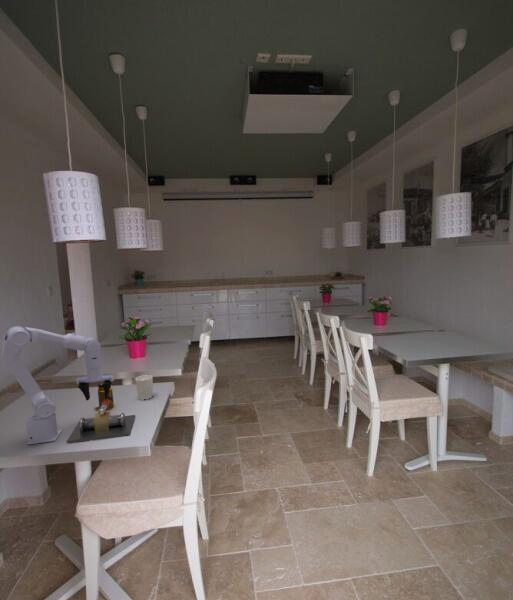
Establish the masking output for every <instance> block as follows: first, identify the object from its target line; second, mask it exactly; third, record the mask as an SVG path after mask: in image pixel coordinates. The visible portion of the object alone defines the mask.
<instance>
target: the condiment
mask: <svg viewBox="0 0 513 600" xmlns="http://www.w3.org/2000/svg"><path fill="white" fill-rule="evenodd" d="M103 383H104V381H103V382H98V384H97V385H98V386H97V388H98V390H97V396H98V397H97V398H98V406H95V407H93V411H94V413H95V415H96V414H97V413H99V412H98V409H99V408H100V407H101V406H102V402H103V401H105V400H109V406H108V407H107V408H106V410H105V412H111V411H113V410H116V409H117V407H116V406H115V404H114V403H115V402H114V394H113V387H112V385H111V386H110V390H109V397H108V398H107V399H105V393H104V388H103V385H102V384H103Z"/></svg>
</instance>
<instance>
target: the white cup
mask: <svg viewBox="0 0 513 600" xmlns="http://www.w3.org/2000/svg"><path fill="white" fill-rule="evenodd" d="M134 380H135V386H136V392H137V393H136V394H137V399H138V398H139V399H141V400H140V401H145V400H144V399H148V400H150V399H152V398H153V397H152V396H154V382H153V381H154V380H153V375H151V374H143V375H139V376H137V377H135V379H134ZM151 397H152V398H151ZM149 398H150V399H149ZM139 399H138V400H139ZM142 399H143V400H142Z"/></svg>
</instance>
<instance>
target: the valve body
mask: <svg viewBox="0 0 513 600" xmlns="http://www.w3.org/2000/svg"><path fill="white" fill-rule="evenodd" d="M135 420H136V414H131V415H125V412H121V413H120V414H117V415H111V411H105V413H103V414H99V413H97V414H96V413H95V416H94V417H92V418H85V417H81V418H80V419H79V421H78V423H77V424H76V425H75V426H74V427H75V428H74V429H73V431H72V432H71V434H70V435H69V436H68V438H67V440H66V444H67V443H69V444H74V443H75V442H76V443H83V442H90V440H92V441H98V440H105V439H114V438H120V437H128V436H131V432H132V429H133V426H134V423H135Z"/></svg>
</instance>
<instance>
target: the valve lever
mask: <svg viewBox="0 0 513 600" xmlns="http://www.w3.org/2000/svg"><path fill="white" fill-rule="evenodd" d="M108 406H109V400H105V401H103V402H102V406H101V407H100V408H99V409H98V412H99V414H103V413H105V412H106V411H105V410H106V408H107V407H108Z"/></svg>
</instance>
